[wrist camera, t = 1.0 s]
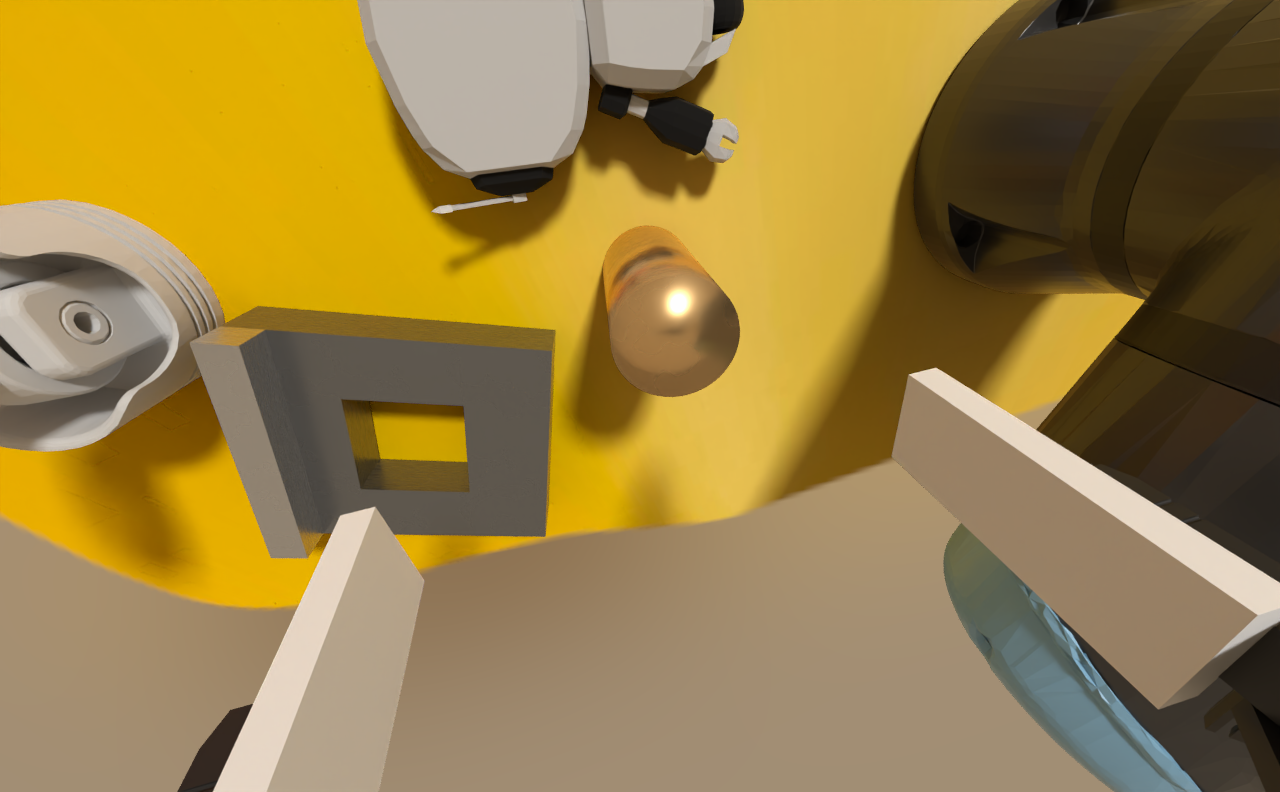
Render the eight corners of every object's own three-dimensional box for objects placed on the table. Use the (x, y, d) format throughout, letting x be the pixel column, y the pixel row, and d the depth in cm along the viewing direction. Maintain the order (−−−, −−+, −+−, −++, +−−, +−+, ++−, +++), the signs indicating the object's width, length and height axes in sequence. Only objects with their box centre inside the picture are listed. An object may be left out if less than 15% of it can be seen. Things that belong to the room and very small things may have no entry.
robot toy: (718, -168, 19) (332, -144, 17) (763, -248, 15) (269, -225, 13) (722, 167, 25) (439, 205, 23) (755, 173, 21) (418, 219, 20)
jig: (555, 330, 27) (549, 367, 23) (548, 505, 34) (542, 560, 30) (257, 306, 25) (189, 342, 21) (314, 500, 32) (270, 558, 27)
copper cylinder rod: (697, 231, 25) (753, 282, 17) (681, 316, 28) (724, 400, 19) (607, 220, 25) (617, 268, 16) (599, 309, 27) (604, 393, 18)
